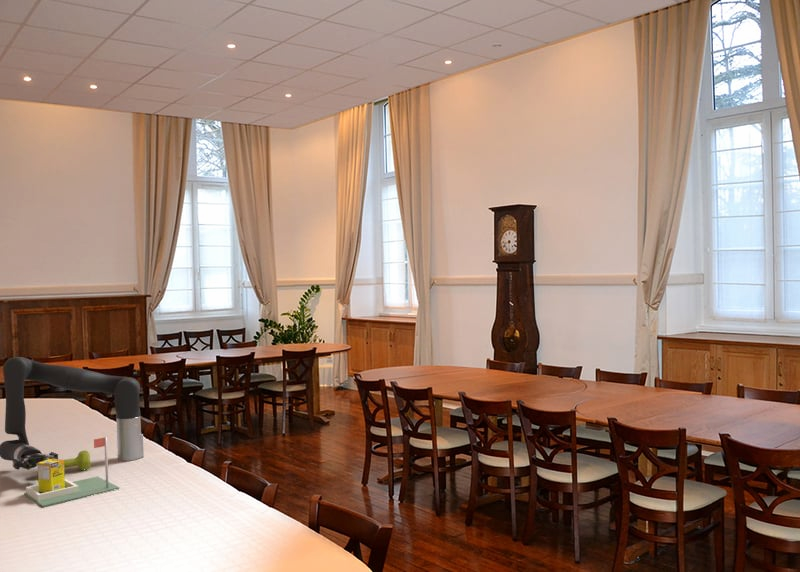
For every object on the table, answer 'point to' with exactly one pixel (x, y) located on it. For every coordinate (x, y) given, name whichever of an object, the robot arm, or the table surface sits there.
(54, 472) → the supplement box
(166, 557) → the table surface
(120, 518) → the table surface
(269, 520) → the table surface
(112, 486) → the cup
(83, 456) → the dumbbell
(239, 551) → the table surface
